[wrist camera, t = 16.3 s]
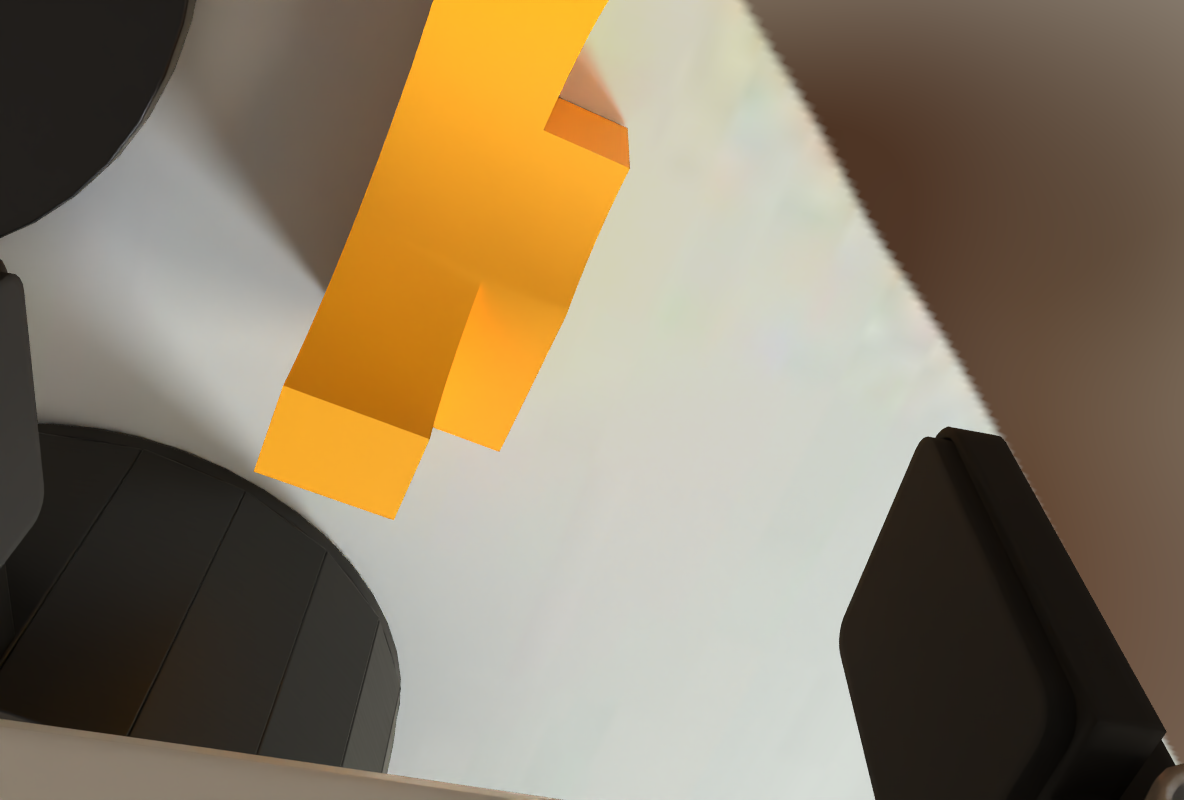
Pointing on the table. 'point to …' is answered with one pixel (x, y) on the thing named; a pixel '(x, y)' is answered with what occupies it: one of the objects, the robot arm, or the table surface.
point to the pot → (189, 612)
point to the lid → (76, 92)
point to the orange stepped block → (452, 254)
